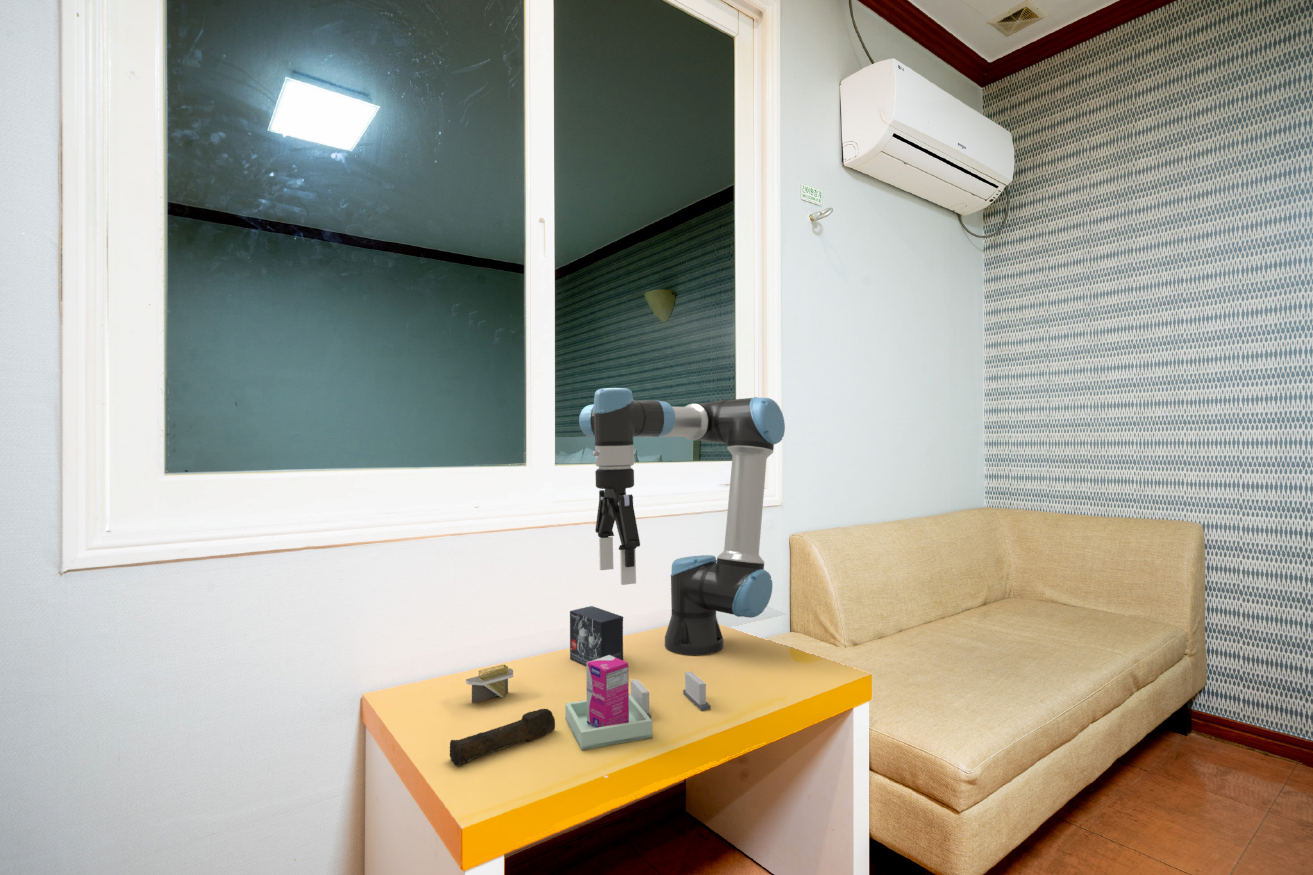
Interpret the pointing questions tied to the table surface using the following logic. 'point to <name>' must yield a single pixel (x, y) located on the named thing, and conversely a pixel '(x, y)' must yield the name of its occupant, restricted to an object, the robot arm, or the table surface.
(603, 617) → the small box
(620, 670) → the supplement box
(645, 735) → the parts tray
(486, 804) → the table surface
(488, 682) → the platform
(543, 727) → the hand tool
